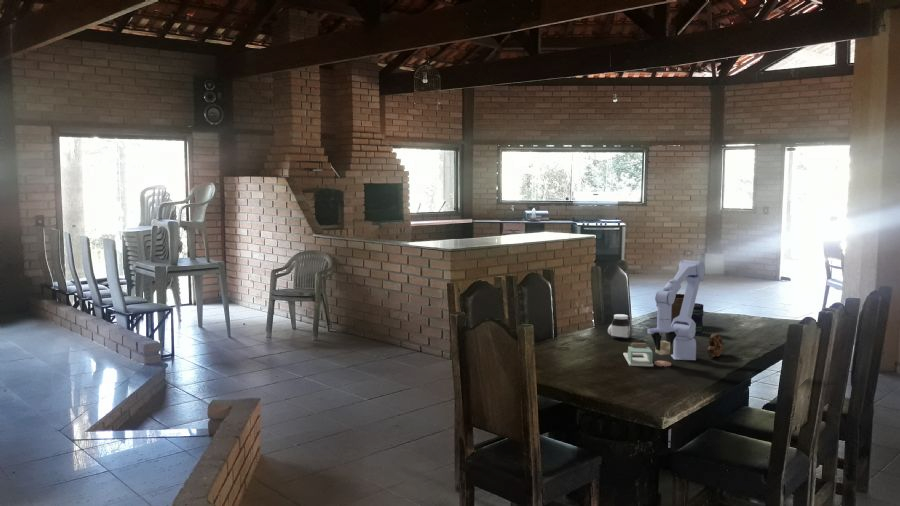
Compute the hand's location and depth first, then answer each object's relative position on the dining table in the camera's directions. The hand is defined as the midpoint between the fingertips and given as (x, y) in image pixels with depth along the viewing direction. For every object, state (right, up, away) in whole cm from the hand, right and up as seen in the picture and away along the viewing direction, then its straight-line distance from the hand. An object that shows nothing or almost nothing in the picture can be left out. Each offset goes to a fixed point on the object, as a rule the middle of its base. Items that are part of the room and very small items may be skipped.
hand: (663, 349), depth 314 cm
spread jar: (-7, -1, +54) cm, 54 cm away
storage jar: (+34, 0, +65) cm, 73 cm away
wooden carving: (+28, -5, +15) cm, 33 cm away
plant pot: (+33, +2, +85) cm, 91 cm away
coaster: (0, -7, +1) cm, 7 cm away
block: (0, -2, +1) cm, 2 cm away
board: (-9, -6, +8) cm, 13 cm away
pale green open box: (-9, -5, +3) cm, 11 cm away
